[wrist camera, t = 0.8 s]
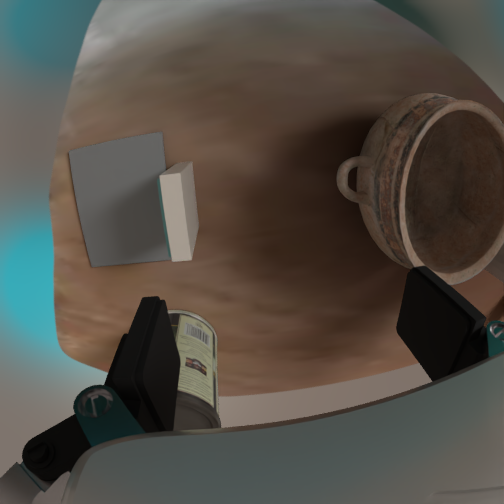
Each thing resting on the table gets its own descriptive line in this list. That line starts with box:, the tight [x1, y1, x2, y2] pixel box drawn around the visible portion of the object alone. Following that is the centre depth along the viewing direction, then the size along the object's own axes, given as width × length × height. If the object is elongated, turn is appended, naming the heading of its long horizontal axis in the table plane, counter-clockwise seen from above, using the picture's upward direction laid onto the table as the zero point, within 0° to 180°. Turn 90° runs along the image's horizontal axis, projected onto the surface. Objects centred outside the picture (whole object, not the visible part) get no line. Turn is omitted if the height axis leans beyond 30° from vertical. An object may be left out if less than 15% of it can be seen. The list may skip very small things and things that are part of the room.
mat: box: [69, 132, 172, 267], centre depth 30 cm, size 11×14×1 cm
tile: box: [157, 161, 199, 262], centre depth 26 cm, size 2×7×9 cm, turn 3°
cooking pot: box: [337, 93, 504, 285], centre depth 26 cm, size 25×19×12 cm
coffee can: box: [168, 310, 221, 431], centre depth 31 cm, size 10×10×14 cm
